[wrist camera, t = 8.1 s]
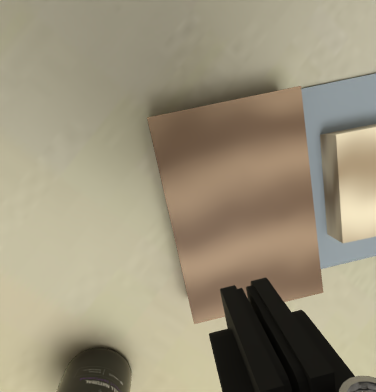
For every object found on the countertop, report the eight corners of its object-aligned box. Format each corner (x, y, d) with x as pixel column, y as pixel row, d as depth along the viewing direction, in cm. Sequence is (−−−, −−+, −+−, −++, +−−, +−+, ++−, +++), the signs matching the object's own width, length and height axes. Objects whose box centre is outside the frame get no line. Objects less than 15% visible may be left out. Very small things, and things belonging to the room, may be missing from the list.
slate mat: (284, 92, 26) (286, 91, 25) (398, 68, 26) (401, 68, 26) (306, 270, 30) (307, 272, 29) (404, 247, 30) (407, 248, 30)
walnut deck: (149, 120, 25) (147, 117, 21) (279, 93, 26) (300, 85, 22) (189, 298, 29) (194, 323, 25) (301, 271, 30) (323, 292, 26)
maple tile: (402, 121, 24) (380, 123, 27) (335, 134, 24) (319, 134, 26) (403, 230, 27) (383, 222, 29) (342, 243, 26) (327, 234, 29)
